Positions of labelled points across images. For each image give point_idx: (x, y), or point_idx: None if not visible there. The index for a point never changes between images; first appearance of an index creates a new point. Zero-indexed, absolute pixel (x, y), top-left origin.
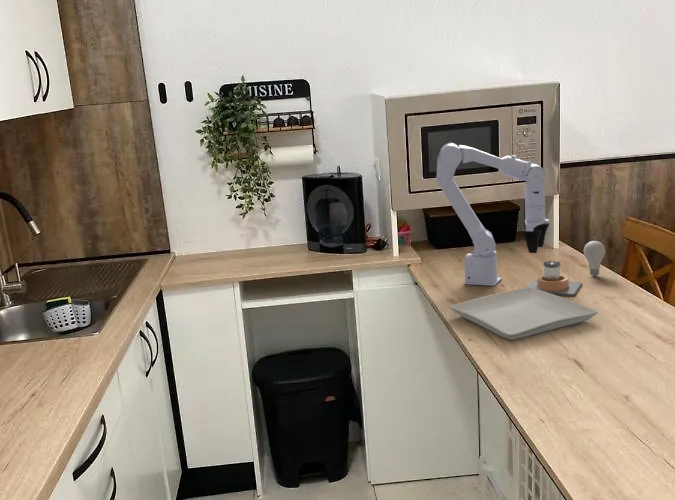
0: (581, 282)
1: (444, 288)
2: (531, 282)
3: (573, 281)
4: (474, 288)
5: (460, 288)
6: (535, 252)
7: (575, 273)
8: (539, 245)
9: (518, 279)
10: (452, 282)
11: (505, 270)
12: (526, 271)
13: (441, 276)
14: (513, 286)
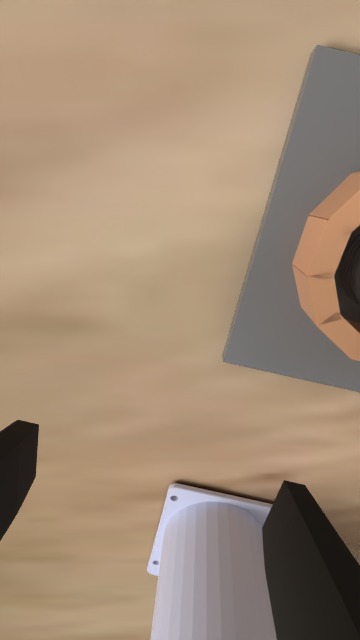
0: (332, 49)
1: None
2: (285, 372)
3: (297, 117)
4: None
5: None
6: (307, 495)
7: (27, 105)
8: (30, 460)
9: (173, 418)
10: None
11: None
12: (27, 385)
13: (134, 634)
14: (293, 438)
